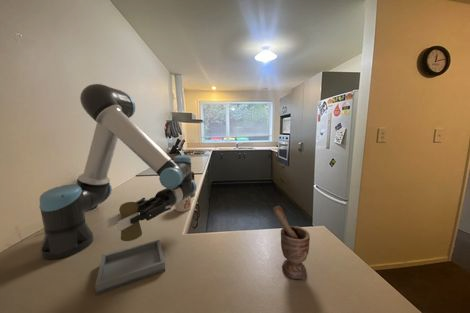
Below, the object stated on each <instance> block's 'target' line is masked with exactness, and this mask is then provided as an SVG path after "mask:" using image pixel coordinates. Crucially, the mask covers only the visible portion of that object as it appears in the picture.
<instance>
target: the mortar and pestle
mask: <svg viewBox="0 0 470 313" xmlns="http://www.w3.org/2000/svg"><path fill="white" fill-rule="evenodd" d="M273 212H274V214H275V216H276V218H277V219H278V221H279V223H280V224H281V226H282V228H281V230H280V248H281V252H282V255H283V257H284V258H285V260H284V261H283V263H282V267H281V268H282V269H281V270H282V272H283V274H284V275H285V276H287V277H289V278H290V279H293V280H304V279H305V278H306V276H307V268H306V265H305V264H304V263H303V262H305V261H306V260H307V258H308V255H309V252H310V242H311V241H310V237H311V236H310V232H309V231H308V230H307V229H305V228H303V227H301V226H298V225H297V226H296V225H290V224H289V222H288V219H287V217H286V215H285V211H284V210H283V208H282V207H281V206H280V205H277V206H274V207H273Z"/></svg>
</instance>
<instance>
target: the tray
mask: <svg viewBox="0 0 470 313" xmlns="http://www.w3.org/2000/svg"><path fill="white" fill-rule="evenodd" d="M165 262H166V261H165V258H164V254H163V249H162V246H161V241H160V239H157V240H152V241H149V242H145V243H142V244H138V245H134V246H131V247H128V248H123V249H120V250H116V251H114V252H109V253H106V254H102V256H101V258H100V262H99V263H100V264H99V268H98V271H97V272H98V273H97V276H96V280H95V285H94V288H95V294H96V296H98V294H99V295H101V294H104V293H107V292H109V290H110V291H112V290H115V289H117V288H118V289H119V288H122V287H123V286H126V285H129V284H132V283H135V282H138V281H140V280H142V279H146V278H148V277H152V276H154V275H157V274H160V273H162V272H165V271H166V263H165Z"/></svg>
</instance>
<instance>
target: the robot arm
mask: <svg viewBox="0 0 470 313" xmlns="http://www.w3.org/2000/svg"><path fill="white" fill-rule="evenodd" d="M79 99H80V103H81V107H82V108H83V109H84V111H85V113H86V114H88V115H89V117H91V118H92V120H94V122H96V125H95V129H94V132H93V137H92V140H91V144H90V147H89V152H88V155H87V159H86V164H85V166H84V170H83V173H82V174H81V173H80V174H79V175H78V176H77V179H76V182H75V183H76V184H74V183H73V184H72V183H70V184H64V185H60V186H56V187H52V188H50V189H48V190H46V191H44V192H43V193H42V194H41V195H40V196H39V207H38V208H39V210H40V214H41V219H42V224H43V229H44V237H43V240H42V244H41V247H40V248H41V249H40V254H41V257H42V259H45V260H58V259H61V258H62V259H63V258H66V257H69V256H71V255H72V256H73V255H74V254H75V255H76V254H77V253H79V252H81V251H83V250H85V249H86V248H87V247H89V246H90V245H91V244H92V243H93V242H94V234H93V232H92V230H91V228H90V227H89V225H88V224H87V222H86V215H85V213H86V212H87V211H89V210H92V209H93V208H95V207H97V206H98V205H100V204H102V203H104V202H105V201H106V200H107V199H108V198H110V196H111V195H112V190H113V188H112V187H113V186H112V185H111V183H110V180H111V179H110V178H109V177H108V176H109V175H108V174H109V170H110V167H111V163H112V159H113V157H114V154H115V153H114V152H115V150H116V146H117V144H118V139H119V140H120V141H121V142H122V143H123V144H124V145H125V146H127V148H128V149H130V150H131V151H132V152H133V153H134V154H135V155H136V157H138V158H139V159H141V160H142V162H143V163H145V164H146V165H147V166H148V167H149V169H151V170H153V172H154V173H156V174H157V176H158V177H159V183H160V184H161V186H162V187H164V188H163V189H162V190H159V191H157V193H156V194H155V195H154V197H151V198H149V199H146V197H142V198H140V200H136V201H135V202H136V203H137V204H138V211H137V213H135V214H133V215H130V216H128V217H126V218H124V219H122V215H121V214H120V212H118V213H116V214H114V215H112V216H110V217H108V218H106V220H105V222H106V228H108V229H110V228H112V227H113V226H115V225H117V228H118V229H117V230H118V232H121V230H123V229H125V228H127V227H129V226H131V225H132V224H134V223H136V222H138V221H139V222H140V221H145V220H146V221H150V220H152V219H154V218H156V217H158V216H160V215H162V214H164V213H165V212H167V211H171V209H172V206H175V204H176V203H178V202H180V201H182V200H183V199H185V198H187V197H189V196H191V195H192V194H193V193H194V192H195V193H196V191H197V184H196V182H195V180H194V181H193V180H192V178H191V172H192V160H191V158H192V157H191V156H190V155H186V154H185V155H183V154H181V155H180V154H179V155H176V156H173V159H172V158H171V157H170V156H169V155H168V154H167V153H166V152H165V151H164V150H163V149H162V148H161V147H160V146H158V145H157V143H156V142H154V141H153V140H152V139H151V138H150V137H149V136H148V135H147V134H146V133H145V132H144V131H143V130H142V129H141V128H140V127H138V125H137V124H135V122H134V121H133V120H131V119H130V118H132V117H133V116H134V114H135V112H136V104H135V101H134V99H133V98H132V97H131V95H130V94H128V93H126V92H125V91H122V90H120V89H116V88H113V87H110V86H107V85H104V84H102V83H93V84H89V85H87V86H85V88H84V89H82V91H81V93H80V96H79Z"/></svg>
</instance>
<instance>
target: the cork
mask: <svg viewBox="0 0 470 313" xmlns="http://www.w3.org/2000/svg"><path fill="white" fill-rule="evenodd" d="M136 202H137V201H127V202H124V203H122V204H121V205H120V206H119V208H118V209H119V212H118V213H120V214H121V215H122V219H124V218H126V217H128V216H130V215H133V214H135V213H137V211H138V204H137V203H136ZM142 235H143V231H142V228H141V224H140V221H138V222H136V223H134V224H132V225H131V226H129V227H127V228H125V229H123V230H121V231H120V240H121V241H122V242H131V241H134V240H137V239H139V238H141V237H142Z"/></svg>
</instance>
